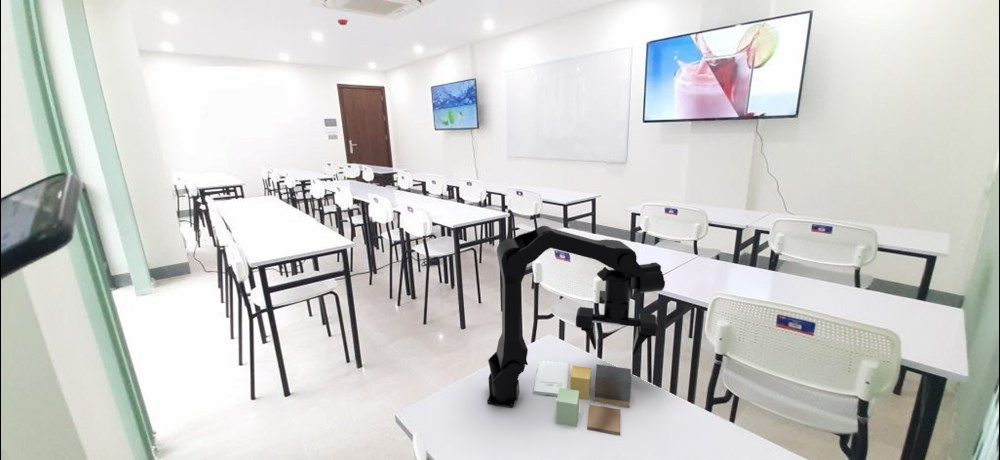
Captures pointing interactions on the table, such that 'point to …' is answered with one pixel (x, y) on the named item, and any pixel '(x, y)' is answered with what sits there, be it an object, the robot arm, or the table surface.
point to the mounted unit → (612, 385)
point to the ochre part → (581, 381)
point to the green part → (567, 407)
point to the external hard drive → (551, 378)
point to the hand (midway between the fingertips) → (614, 351)
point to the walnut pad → (604, 419)
